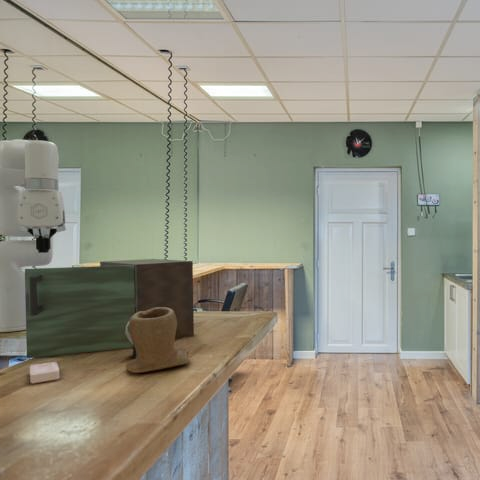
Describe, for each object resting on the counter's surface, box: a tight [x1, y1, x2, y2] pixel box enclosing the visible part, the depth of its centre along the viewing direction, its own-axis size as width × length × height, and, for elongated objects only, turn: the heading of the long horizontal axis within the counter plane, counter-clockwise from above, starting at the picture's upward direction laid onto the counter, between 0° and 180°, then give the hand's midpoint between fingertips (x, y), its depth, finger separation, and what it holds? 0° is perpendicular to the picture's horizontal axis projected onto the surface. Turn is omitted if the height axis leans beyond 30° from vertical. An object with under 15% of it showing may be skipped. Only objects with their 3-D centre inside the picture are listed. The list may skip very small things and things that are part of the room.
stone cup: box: [124, 307, 190, 374], centre depth 113 cm, size 15×12×15 cm
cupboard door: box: [24, 265, 135, 359], centre depth 126 cm, size 8×26×24 cm, turn 114°
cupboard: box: [99, 258, 195, 340], centre depth 151 cm, size 18×26×24 cm
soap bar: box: [29, 361, 60, 385], centre depth 107 cm, size 5×9×2 cm, turn 37°
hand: (43, 252), depth 127 cm, fingers closed
